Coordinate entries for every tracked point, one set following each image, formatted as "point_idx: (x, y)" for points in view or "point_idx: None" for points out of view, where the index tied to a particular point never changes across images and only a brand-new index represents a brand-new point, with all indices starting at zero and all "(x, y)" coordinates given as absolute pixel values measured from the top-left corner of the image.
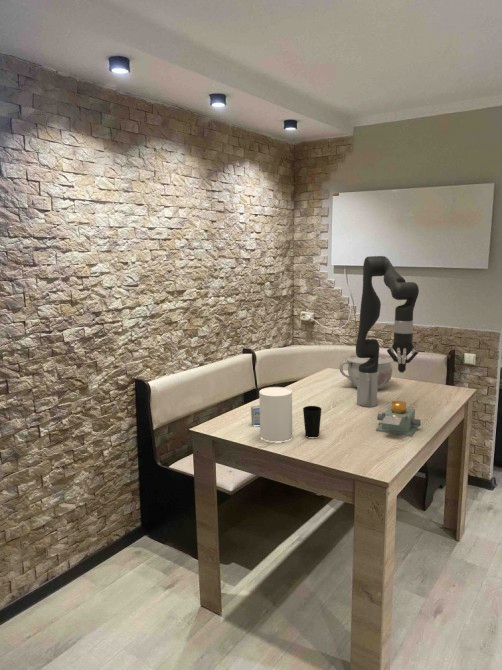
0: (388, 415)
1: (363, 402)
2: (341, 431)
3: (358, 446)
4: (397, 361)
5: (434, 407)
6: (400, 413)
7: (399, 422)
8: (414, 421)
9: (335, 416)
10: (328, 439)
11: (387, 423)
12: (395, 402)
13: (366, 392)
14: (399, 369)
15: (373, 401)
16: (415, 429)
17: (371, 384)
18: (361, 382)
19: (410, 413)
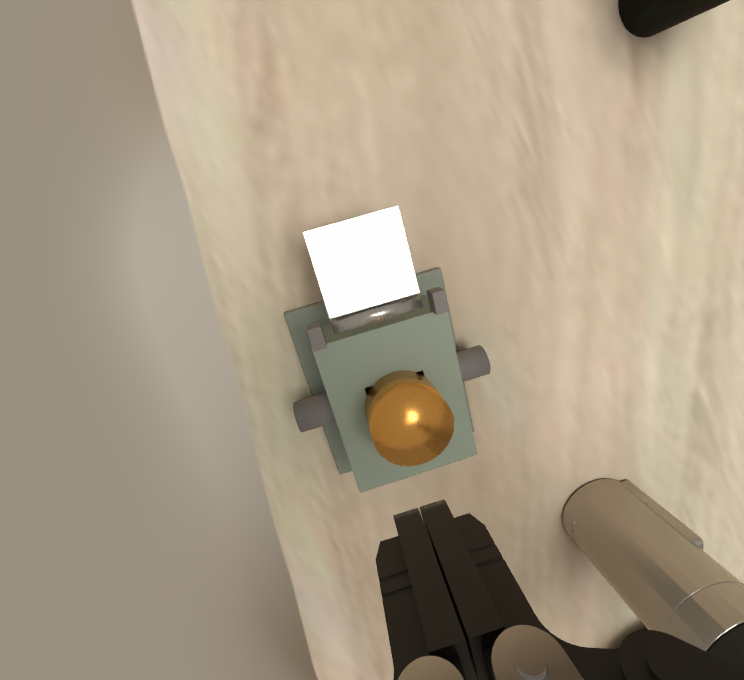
0: (406, 299)
1: (611, 490)
2: (558, 156)
3: (408, 17)
4: (592, 673)
5: (379, 638)
6: (377, 381)
7: (310, 250)
8: (315, 401)
9: (650, 309)
10: (565, 7)
11: (366, 215)
12: (431, 421)
13: (638, 528)
14: (464, 535)
15: (581, 517)
16: (310, 387)
17: (653, 576)
18: (706, 561)
19: (341, 420)
